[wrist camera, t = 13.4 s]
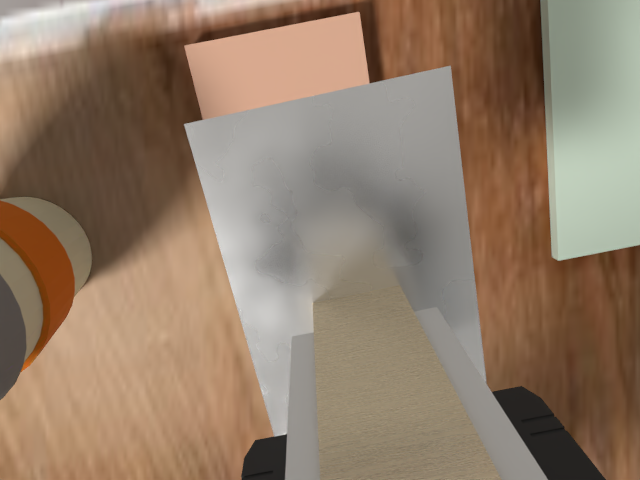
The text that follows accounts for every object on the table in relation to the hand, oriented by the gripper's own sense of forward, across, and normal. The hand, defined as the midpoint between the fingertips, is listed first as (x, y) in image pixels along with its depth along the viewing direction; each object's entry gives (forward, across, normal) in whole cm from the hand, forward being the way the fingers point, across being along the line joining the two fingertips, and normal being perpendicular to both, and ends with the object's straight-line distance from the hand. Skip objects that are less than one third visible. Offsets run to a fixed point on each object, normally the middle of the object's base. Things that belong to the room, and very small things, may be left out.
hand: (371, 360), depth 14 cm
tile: (+22, +2, -1) cm, 22 cm away
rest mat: (+23, -24, -2) cm, 33 cm away
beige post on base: (+3, 0, 0) cm, 3 cm away
